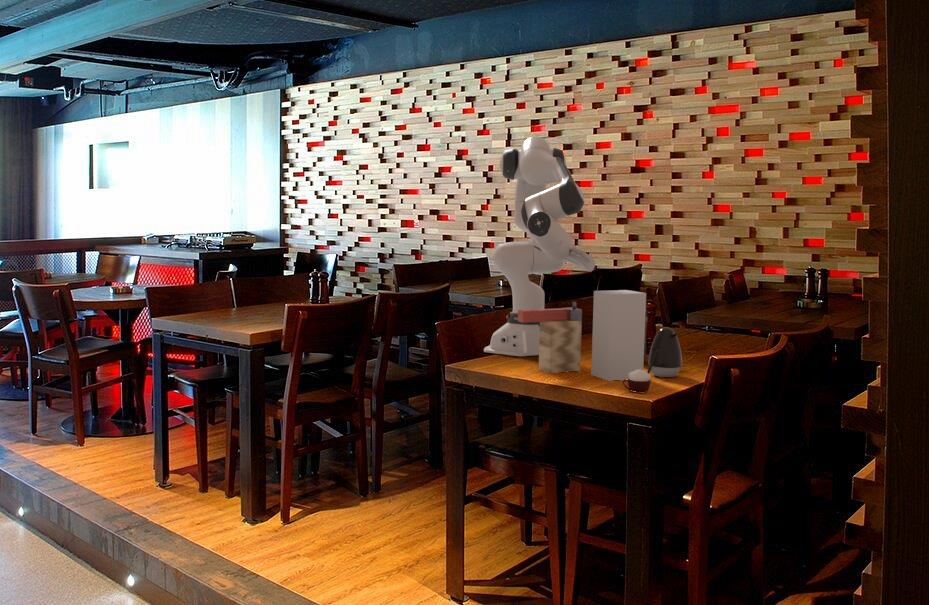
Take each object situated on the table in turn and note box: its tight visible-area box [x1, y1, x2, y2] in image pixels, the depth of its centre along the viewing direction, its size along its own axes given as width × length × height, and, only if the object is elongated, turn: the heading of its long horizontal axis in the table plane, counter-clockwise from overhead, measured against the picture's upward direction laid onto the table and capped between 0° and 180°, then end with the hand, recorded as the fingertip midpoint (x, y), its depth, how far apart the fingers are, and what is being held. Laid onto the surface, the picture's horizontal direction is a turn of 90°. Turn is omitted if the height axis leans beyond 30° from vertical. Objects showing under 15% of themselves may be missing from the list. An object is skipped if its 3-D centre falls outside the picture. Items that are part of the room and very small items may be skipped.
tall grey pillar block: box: [590, 289, 647, 382], centre depth 261 cm, size 12×10×26 cm
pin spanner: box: [518, 301, 583, 323], centre depth 268 cm, size 20×6×6 cm, turn 113°
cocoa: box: [622, 349, 659, 393], centre depth 241 cm, size 10×6×12 cm, turn 65°
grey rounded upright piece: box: [647, 326, 683, 378], centre depth 264 cm, size 10×10×15 cm
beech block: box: [538, 320, 583, 374], centre depth 271 cm, size 11×7×16 cm, turn 113°
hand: (572, 262), depth 269 cm, fingers open, 8 cm apart
